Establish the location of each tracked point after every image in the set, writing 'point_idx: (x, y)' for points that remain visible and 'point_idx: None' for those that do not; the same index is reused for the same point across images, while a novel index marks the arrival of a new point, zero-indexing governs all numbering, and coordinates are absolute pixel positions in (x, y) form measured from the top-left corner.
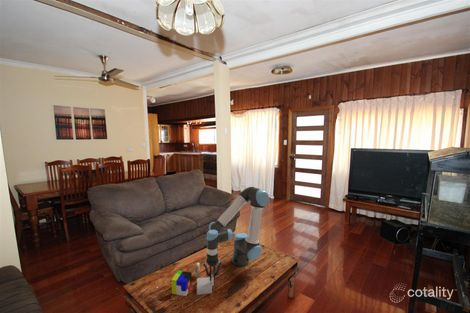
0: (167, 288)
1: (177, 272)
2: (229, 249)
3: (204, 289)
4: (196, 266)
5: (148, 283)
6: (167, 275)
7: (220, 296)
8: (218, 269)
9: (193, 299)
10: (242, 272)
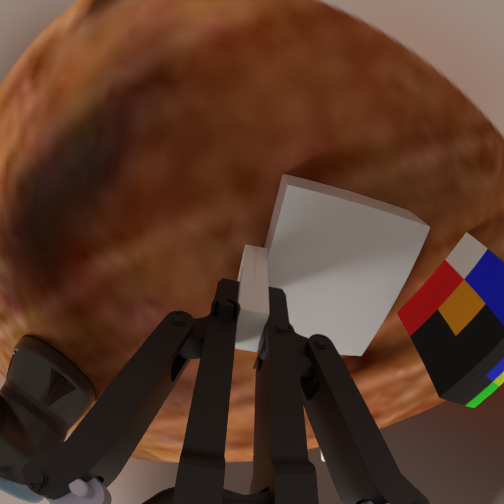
0: None
1: (489, 393)
2: None
3: (368, 207)
4: None
5: None
6: None
7: (211, 99)
8: (123, 387)
9: (444, 174)
10: (31, 299)
